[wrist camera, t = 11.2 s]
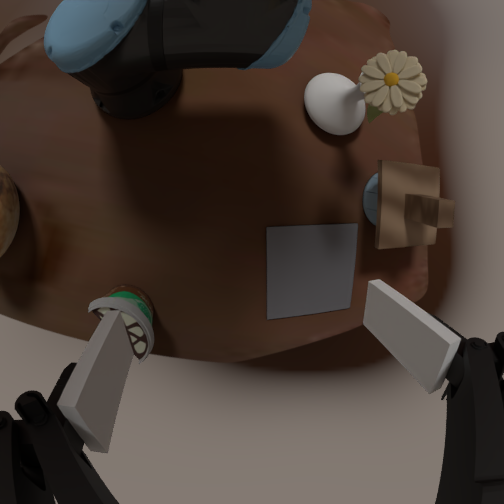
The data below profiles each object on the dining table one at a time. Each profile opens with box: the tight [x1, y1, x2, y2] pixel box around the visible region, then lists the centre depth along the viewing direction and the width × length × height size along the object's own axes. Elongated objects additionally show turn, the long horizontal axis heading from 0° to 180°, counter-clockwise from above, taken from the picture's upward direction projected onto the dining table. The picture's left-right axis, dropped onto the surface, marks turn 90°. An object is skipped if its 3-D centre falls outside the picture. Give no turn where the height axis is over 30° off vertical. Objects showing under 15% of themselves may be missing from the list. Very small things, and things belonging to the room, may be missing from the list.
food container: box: [88, 285, 154, 364], centre depth 40 cm, size 12×6×10 cm, turn 34°
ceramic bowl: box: [363, 173, 378, 226], centre depth 44 cm, size 11×11×7 cm
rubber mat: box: [266, 223, 358, 320], centre depth 48 cm, size 17×17×1 cm
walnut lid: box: [375, 160, 455, 249], centre depth 36 cm, size 14×14×9 cm
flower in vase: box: [304, 50, 427, 135], centre depth 29 cm, size 13×11×25 cm
